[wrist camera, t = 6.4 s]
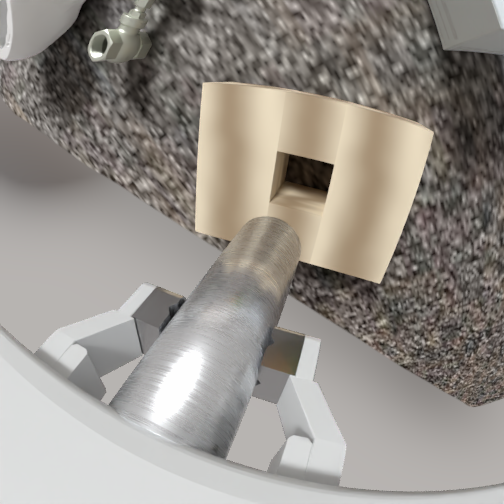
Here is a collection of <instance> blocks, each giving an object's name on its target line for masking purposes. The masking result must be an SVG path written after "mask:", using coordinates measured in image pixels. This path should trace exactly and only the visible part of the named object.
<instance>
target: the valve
mask: <svg viewBox="0 0 504 504" xmlns="http://www.w3.org/2000/svg"><path fill="white" fill-rule="evenodd" d="M154 2H155V0H136V1H135V3H134V4H135V5H137V6H136V7H135V9H131V10H130V12H129V13H123V14H122V16H121V18H120V20H119V22H120V23H121V24H120V26H119V28H117V29H115V30H114V29H106V30H101V31H98V32H95V33H94V34H93V36H92V38H91V40H90V42H89V45H88V53H89V56H90V58H91V60H92V61H93V62H97V61H106V60H107V61H109V62H111V63H124V62H127V61H129V60H134V59H143V58H145V57H146V55H147V53H148V51H149V49H150V48H151V46H152V43H151V40H150V38H149V36H148V34H147V32H140V29H144V28H145V26H146V24H147V22H148V20H147V19H145V16H146V13H145V10H146V8H147V9H150V8H151V6H152V5H153V3H154Z"/></svg>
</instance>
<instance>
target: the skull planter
mask: <svg viewBox="0 0 504 504" xmlns="http://www.w3.org/2000/svg"><path fill="white" fill-rule="evenodd" d="M85 1H86V0H0V59H3V60H8V61H14V60H21V59H25V58H28V57H31V56H34V55H36V54H38V53H40V52H42V51H43V50H45V49H46V48H47V47H48V46H50V45H51V44H52V43H54V42H55V41H56V40H57V39H58V38H59V37H60V36H61V35H63V34H64V33H65V32H66V31H67V30H68V29H69V28H70V27H71V26H72V24H73V23H74V22H75V20H76V19H77V17H78V14H79V11H80V9H81V6H82V4H83V3H84V2H85Z"/></svg>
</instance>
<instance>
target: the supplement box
mask: <svg viewBox="0 0 504 504" xmlns="http://www.w3.org/2000/svg"><path fill="white" fill-rule="evenodd" d="M428 3H429V6H430V8H431V11H432V14H433V17H434V20H435V23H436V26H437V30H438V33H439V36H440V40H441V43H442V47H443V50H454V51H470V52H481V53H490V54H498V55H504V0H428Z"/></svg>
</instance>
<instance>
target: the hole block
mask: <svg viewBox="0 0 504 504" xmlns="http://www.w3.org/2000/svg"><path fill="white" fill-rule="evenodd" d="M433 134H434V132H433V131H431V130H429V129H428V128H426V127H424V126H422V125H421V124H419V123H417V122H414V121H411V120H408V119H405V118H402V117H399V116H396V115H393V114H390V113H387V112H384V111H380V110H377V109H374V108H370V107H367V106H363V105H359V104H355V103H352V102H348V101H344V100H339V99H335V98H331V97H326V96H322V95H317V94H312V93H307V92H301V91H296V90H290V89H284V88H278V87H271V86H264V85H256V84H247V83H238V82H209V83H203V88H202V99H201V112H200V126H199V142H198V161H197V184H196V218H195V231H196V232H200V233H203V234H207V235H210V236H214V237H217V238H221V239H225V240H228V241H232V240H233V238H234V237H235V236H236V235H237V233H238V232H239V231H240V229H241V228H242V227H243V226H244V225H245V224H246V223H247V222H248V221H249V220H251V219H253V218H256V217H261V216H270V217H275V218H278V219H280V220H283V221H284V222H286V223H287V224H289V225H290V226H291V227H292V228H293V229H294V230H295V232H296V233H297V235H298V237H299V239H300V243H301V256H300V259H299V261H302V262H306V263H309V264H313V265H316V266H320V267H323V268H327V269H330V270H334V271H337V272H341V273H344V274H348V275H351V276H355V277H358V278H362V279H365V280H369V281H372V282H376V283H379V284H380V282H381V280H382V278H383V276H384V274H385V271H386V269H387V267H388V264H389V262H390V260H391V257H392V255H393V253H394V250H395V248H396V245H397V243H398V240H399V238H400V235H401V233H402V230H403V228H404V225H405V222H406V220H407V217H408V214H409V212H410V209H411V206H412V203H413V200H414V197H415V194H416V191H417V188H418V185H419V182H420V179H421V176H422V173H423V170H424V166H425V163H426V160H427V156H428V153H429V149H430V145H431V142H432V138H433ZM290 154H293V155H297V156H301V157H306V158H310V159H314V160H318V161H322V162H326V163H330V164H334V169H333V173H332V177H331V182H330V186H329V190H328V192H327V191H323V190H319V189H315V188H311V187H308V186H304V185H300V184H296V183H292V182H287V181H285V178H286V172H287V167H288V161H289V155H290Z"/></svg>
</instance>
